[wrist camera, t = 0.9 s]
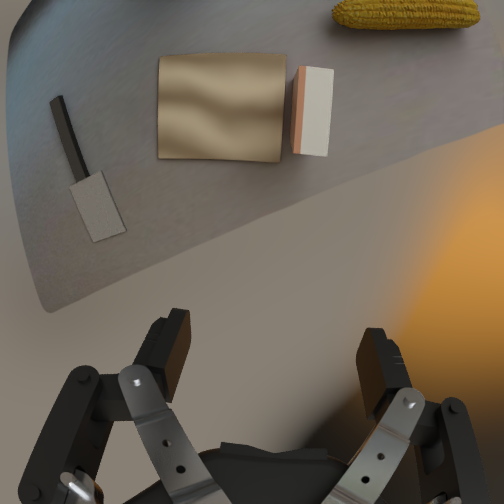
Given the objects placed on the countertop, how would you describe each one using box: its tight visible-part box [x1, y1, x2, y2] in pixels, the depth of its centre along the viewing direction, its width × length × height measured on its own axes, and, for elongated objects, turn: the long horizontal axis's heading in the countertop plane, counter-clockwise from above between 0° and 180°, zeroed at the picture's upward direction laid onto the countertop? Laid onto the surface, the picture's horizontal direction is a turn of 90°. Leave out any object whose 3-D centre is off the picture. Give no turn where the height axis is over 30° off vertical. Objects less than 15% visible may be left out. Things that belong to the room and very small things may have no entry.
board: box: [158, 53, 287, 163], centre depth 35 cm, size 14×16×1 cm
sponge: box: [290, 66, 334, 157], centre depth 30 cm, size 8×3×12 cm, turn 177°
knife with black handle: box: [49, 96, 127, 242], centre depth 40 cm, size 24×7×1 cm, turn 17°
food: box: [332, 0, 480, 30], centre depth 25 cm, size 21×6×6 cm, turn 109°
